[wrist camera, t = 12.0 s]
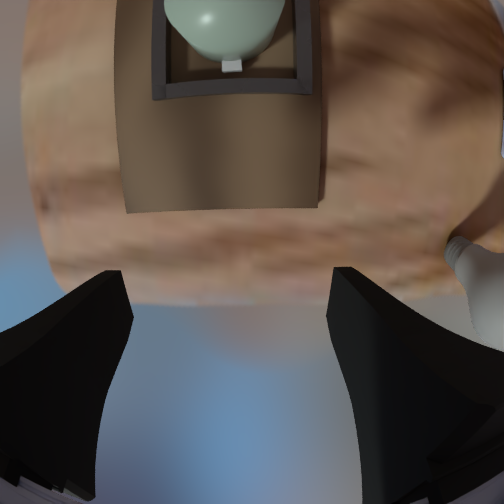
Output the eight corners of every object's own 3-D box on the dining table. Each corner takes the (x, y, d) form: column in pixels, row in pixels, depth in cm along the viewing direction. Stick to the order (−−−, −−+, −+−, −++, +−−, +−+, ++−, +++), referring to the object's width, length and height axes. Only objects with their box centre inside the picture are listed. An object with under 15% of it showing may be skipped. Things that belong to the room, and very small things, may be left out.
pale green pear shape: (277, 71, 14) (290, 54, 9) (189, 77, 14) (165, 63, 9) (271, -16, 11) (280, -56, 6) (186, -10, 11) (165, -47, 6)
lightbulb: (463, 195, 17) (566, 264, 8) (482, 247, 20) (560, 321, 10) (410, 243, 19) (497, 343, 10) (435, 290, 21) (501, 382, 12)
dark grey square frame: (303, -26, 10) (307, -35, 9) (307, 95, 14) (312, 94, 13) (160, -20, 10) (155, -27, 9) (158, 100, 14) (152, 100, 13)
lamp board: (313, -30, 11) (315, -34, 10) (315, 205, 18) (317, 208, 17) (122, -16, 11) (119, -19, 10) (129, 210, 18) (126, 213, 17)
